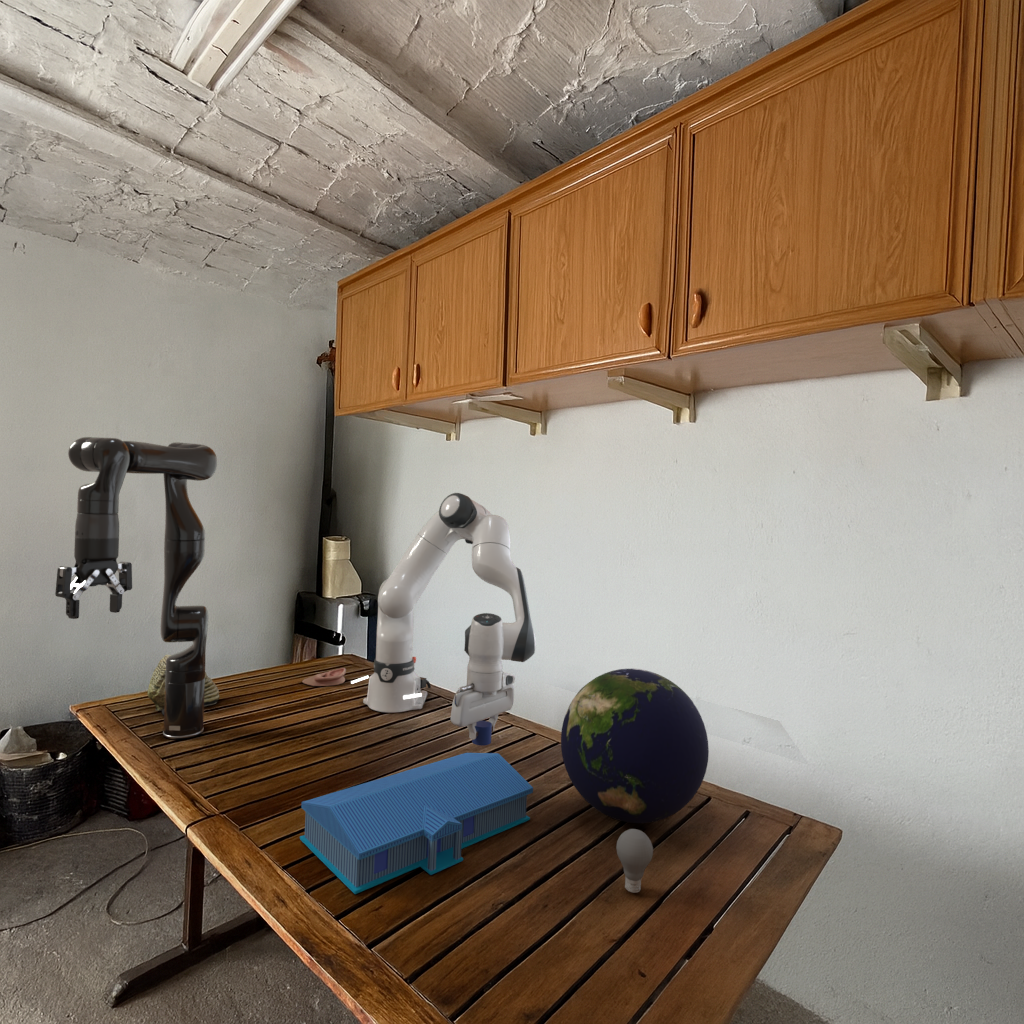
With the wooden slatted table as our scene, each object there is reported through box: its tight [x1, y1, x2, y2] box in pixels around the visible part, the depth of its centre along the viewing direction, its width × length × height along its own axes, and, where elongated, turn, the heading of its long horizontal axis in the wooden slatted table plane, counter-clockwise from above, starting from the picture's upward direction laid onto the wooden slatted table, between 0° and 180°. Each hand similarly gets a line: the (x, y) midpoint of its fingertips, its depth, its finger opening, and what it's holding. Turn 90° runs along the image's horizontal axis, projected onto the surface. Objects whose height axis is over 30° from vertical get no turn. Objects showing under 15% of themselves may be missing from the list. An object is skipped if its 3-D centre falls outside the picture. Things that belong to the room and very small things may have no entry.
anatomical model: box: [301, 667, 347, 687], centre depth 214 cm, size 13×4×12 cm
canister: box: [471, 720, 493, 747], centre depth 158 cm, size 5×5×5 cm
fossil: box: [147, 654, 221, 712], centre depth 185 cm, size 9×18×15 cm, turn 132°
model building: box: [299, 752, 534, 895], centre depth 121 cm, size 39×24×10 cm, turn 132°
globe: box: [560, 668, 710, 824], centre depth 131 cm, size 30×30×30 cm
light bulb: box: [615, 828, 654, 894], centre depth 106 cm, size 6×6×10 cm
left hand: (94, 615), depth 129 cm, fingers open, 8 cm apart
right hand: (481, 735), depth 158 cm, fingers closed on canister, 5 cm apart
